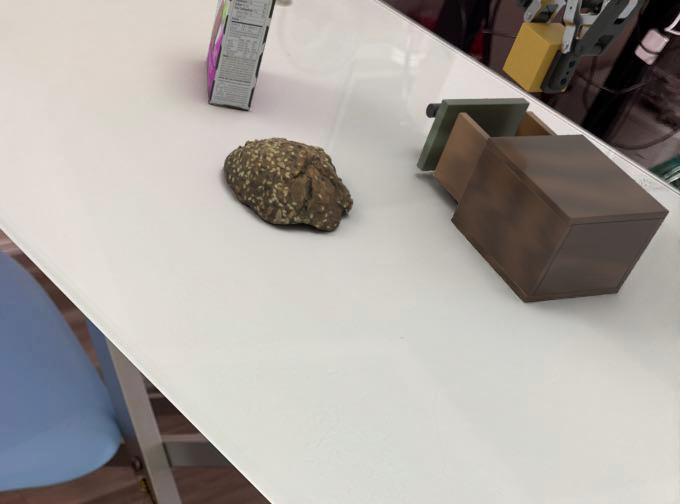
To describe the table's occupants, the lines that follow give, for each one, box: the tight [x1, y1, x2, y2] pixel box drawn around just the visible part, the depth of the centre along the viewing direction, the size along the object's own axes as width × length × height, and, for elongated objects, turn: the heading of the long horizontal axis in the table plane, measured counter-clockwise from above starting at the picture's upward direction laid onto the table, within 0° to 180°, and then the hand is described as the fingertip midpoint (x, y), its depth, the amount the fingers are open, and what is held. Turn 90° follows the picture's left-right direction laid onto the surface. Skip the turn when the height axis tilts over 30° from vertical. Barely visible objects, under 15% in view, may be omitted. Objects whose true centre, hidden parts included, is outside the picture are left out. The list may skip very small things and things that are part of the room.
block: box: [502, 22, 580, 93], centre depth 92 cm, size 4×4×4 cm
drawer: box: [415, 97, 558, 204], centre depth 100 cm, size 17×10×7 cm, turn 20°
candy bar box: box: [206, 0, 277, 111], centre depth 104 cm, size 11×5×16 cm, turn 179°
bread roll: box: [222, 137, 354, 231], centre depth 95 cm, size 13×12×5 cm
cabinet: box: [450, 133, 670, 303], centre depth 94 cm, size 13×11×9 cm
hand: (535, 77), depth 93 cm, fingers closed on block, 4 cm apart
